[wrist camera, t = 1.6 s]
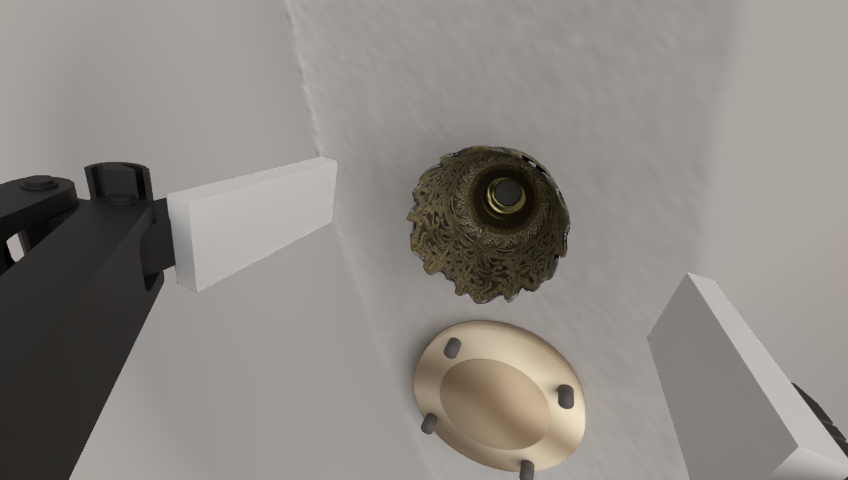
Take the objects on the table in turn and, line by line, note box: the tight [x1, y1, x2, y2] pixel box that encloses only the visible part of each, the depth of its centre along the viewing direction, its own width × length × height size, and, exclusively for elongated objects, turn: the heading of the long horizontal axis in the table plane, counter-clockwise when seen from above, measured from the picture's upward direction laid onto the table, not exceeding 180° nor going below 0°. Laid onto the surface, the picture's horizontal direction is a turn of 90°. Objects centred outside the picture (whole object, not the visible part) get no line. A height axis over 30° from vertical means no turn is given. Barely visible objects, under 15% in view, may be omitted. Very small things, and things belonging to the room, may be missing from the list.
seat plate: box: [414, 321, 585, 480], centre depth 28 cm, size 13×13×3 cm
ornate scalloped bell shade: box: [407, 146, 570, 304], centre depth 20 cm, size 8×7×8 cm
